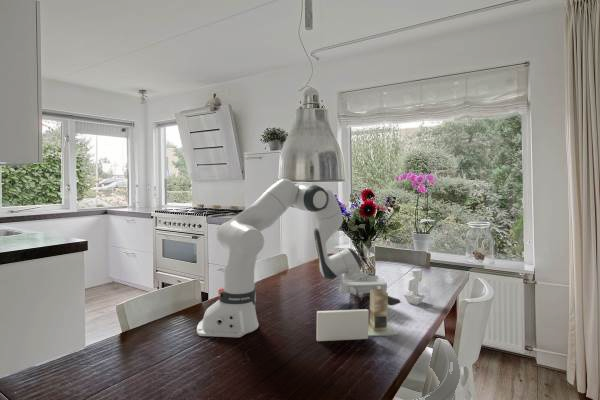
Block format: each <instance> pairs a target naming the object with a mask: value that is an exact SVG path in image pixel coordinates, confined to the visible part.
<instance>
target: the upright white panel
mask: <svg viewBox="0 0 600 400" xmlns="http://www.w3.org/2000/svg"><path fill="white" fill-rule="evenodd" d="M369 319H370V310H369V309H367V308H365V309H363V308H361V309H338V310H317V311H316V339H315V340H316V341H317V342H328V341H330V342H333V341H351V340H368V339H369V335H368V323H369Z"/></svg>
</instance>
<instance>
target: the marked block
mask: <svg viewBox="0 0 600 400" xmlns="http://www.w3.org/2000/svg"><path fill="white" fill-rule="evenodd" d="M388 296H389V293H388V291H385V290H384V289H370V298H369V320H368V323H369V326H370V327H371V329H372V330H373V331H374V332H377V331H387V324H388V309H389V308H388V307H389V305H388Z"/></svg>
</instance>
